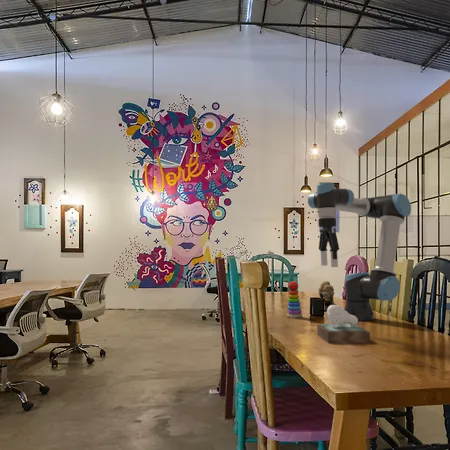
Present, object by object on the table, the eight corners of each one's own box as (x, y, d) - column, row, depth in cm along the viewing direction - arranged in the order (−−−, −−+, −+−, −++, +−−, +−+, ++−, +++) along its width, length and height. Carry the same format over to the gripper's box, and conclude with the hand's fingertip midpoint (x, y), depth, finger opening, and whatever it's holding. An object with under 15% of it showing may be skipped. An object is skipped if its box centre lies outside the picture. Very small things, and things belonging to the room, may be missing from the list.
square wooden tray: (355, 333, 171) (355, 323, 171) (370, 342, 155) (369, 330, 155) (317, 334, 170) (317, 323, 171) (328, 343, 154) (327, 331, 155)
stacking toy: (301, 315, 220) (300, 280, 221) (303, 318, 212) (302, 281, 213) (286, 315, 221) (286, 280, 222) (287, 318, 213) (286, 281, 214)
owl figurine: (339, 312, 231) (338, 282, 232) (317, 312, 234) (316, 282, 235) (339, 308, 248) (338, 279, 249) (319, 307, 251) (318, 279, 252)
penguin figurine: (326, 303, 167) (357, 306, 166) (325, 324, 167) (355, 328, 165) (328, 305, 161) (360, 308, 159) (326, 327, 160) (358, 331, 159)
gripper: (310, 219, 194) (312, 265, 193) (327, 216, 169) (330, 268, 168) (326, 219, 194) (328, 264, 193) (345, 215, 169) (348, 267, 168)
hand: (329, 266), depth 180 cm, fingers open, 13 cm apart
